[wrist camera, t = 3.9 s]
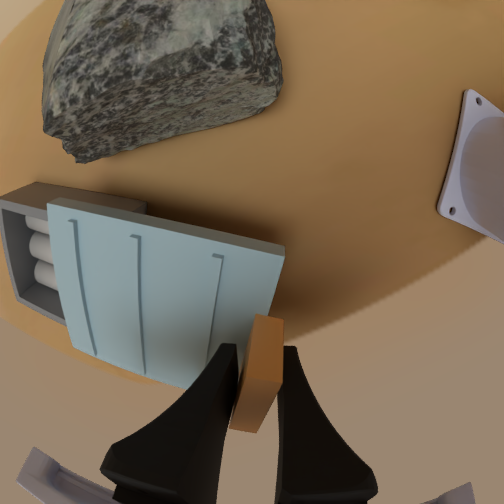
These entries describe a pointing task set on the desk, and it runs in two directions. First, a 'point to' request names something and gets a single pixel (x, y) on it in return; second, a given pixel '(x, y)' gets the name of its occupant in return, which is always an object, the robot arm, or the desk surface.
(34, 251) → the tub
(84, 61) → the stone
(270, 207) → the desk surface
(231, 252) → the lid
